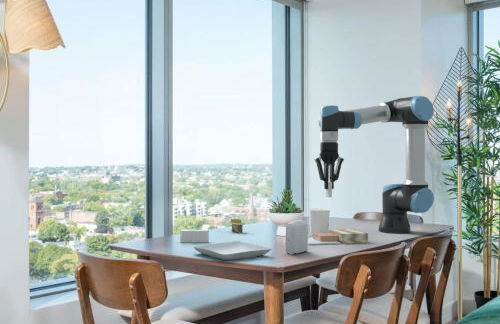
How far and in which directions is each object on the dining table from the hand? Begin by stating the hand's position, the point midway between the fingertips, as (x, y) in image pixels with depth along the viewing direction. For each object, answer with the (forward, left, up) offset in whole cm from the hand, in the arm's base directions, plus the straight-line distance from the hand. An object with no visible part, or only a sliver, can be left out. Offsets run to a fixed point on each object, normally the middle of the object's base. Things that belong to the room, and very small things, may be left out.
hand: (328, 197), depth 243 cm
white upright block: (+23, +24, -19) cm, 38 cm away
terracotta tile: (+1, 0, -18) cm, 18 cm away
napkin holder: (+56, -12, -20) cm, 61 cm away
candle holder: (-3, -18, -19) cm, 27 cm away
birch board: (-9, 0, -19) cm, 21 cm away
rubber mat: (+5, 0, -19) cm, 20 cm away
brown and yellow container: (+32, -37, -20) cm, 53 cm away
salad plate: (+48, +24, -20) cm, 57 cm away
